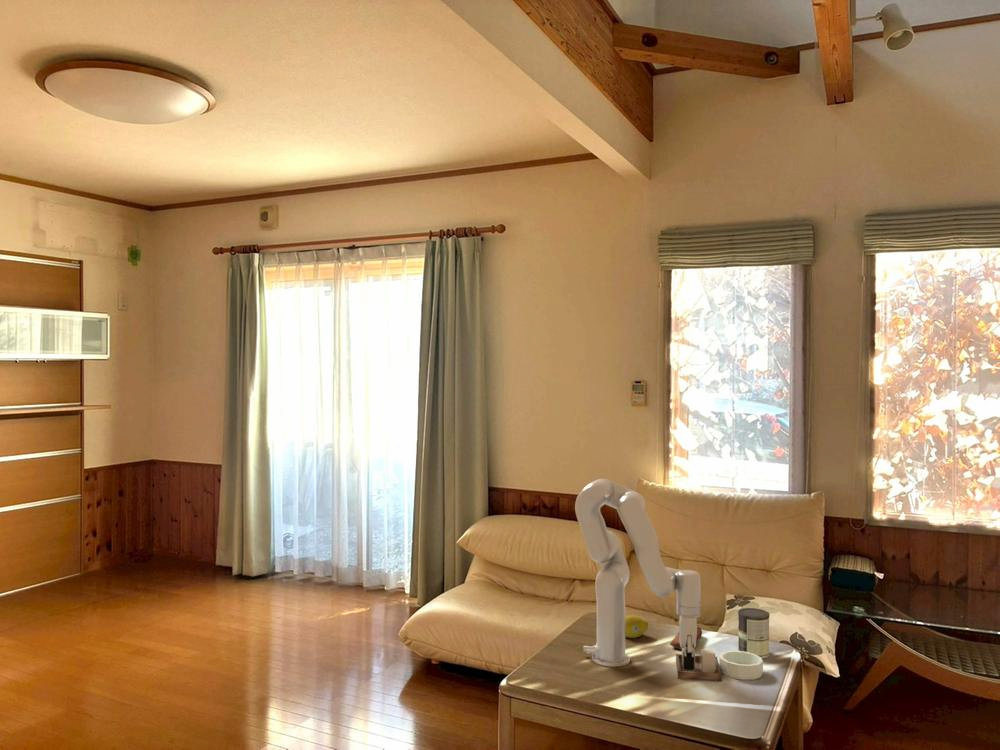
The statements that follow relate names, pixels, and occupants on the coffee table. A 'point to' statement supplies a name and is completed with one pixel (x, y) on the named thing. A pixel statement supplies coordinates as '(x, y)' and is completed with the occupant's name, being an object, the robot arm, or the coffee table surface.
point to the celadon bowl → (741, 665)
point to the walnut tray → (698, 671)
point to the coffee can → (754, 631)
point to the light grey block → (683, 659)
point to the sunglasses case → (676, 642)
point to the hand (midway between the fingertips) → (688, 666)
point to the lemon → (635, 626)
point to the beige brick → (707, 660)
